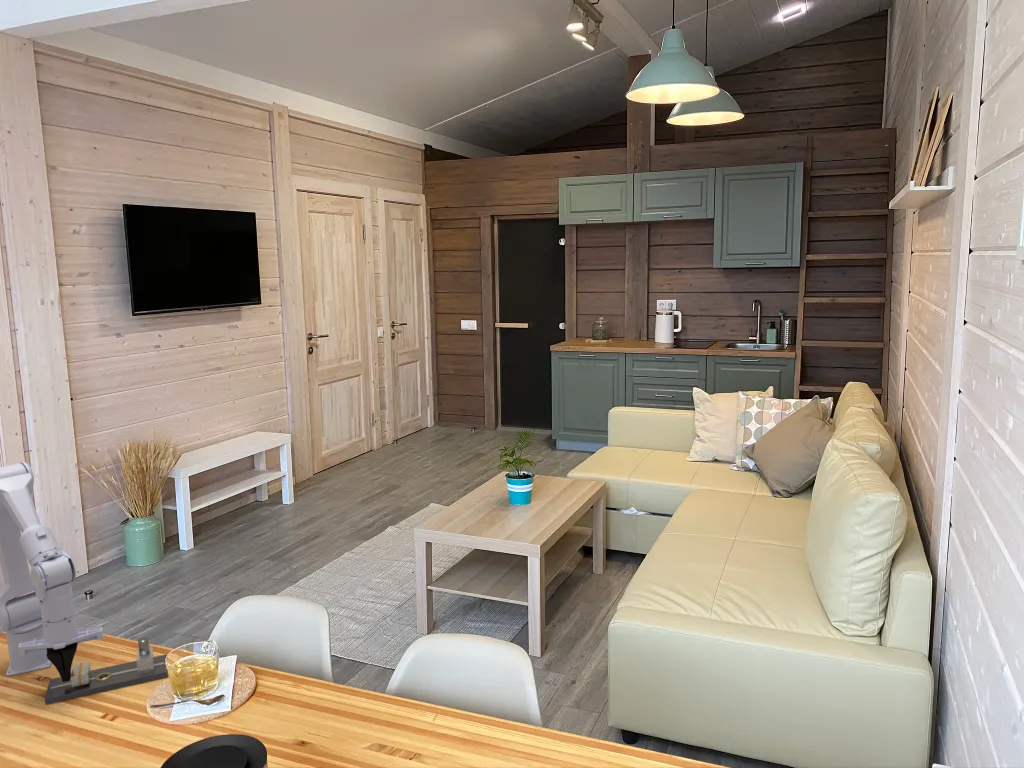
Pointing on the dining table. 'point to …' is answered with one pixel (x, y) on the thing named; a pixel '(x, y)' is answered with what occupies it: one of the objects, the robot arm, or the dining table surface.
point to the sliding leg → (80, 674)
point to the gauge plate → (112, 676)
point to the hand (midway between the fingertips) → (66, 679)
